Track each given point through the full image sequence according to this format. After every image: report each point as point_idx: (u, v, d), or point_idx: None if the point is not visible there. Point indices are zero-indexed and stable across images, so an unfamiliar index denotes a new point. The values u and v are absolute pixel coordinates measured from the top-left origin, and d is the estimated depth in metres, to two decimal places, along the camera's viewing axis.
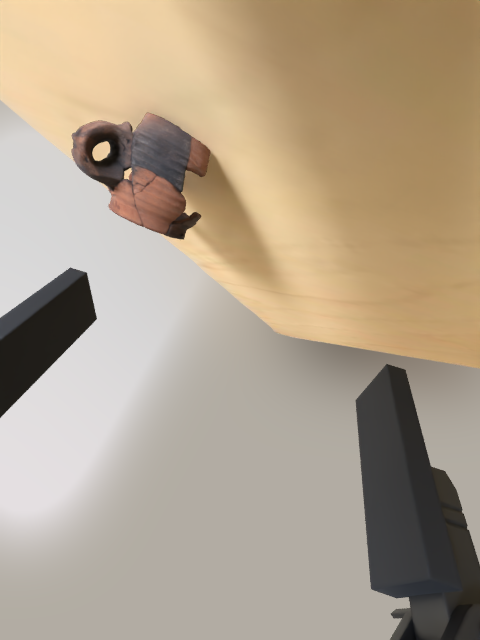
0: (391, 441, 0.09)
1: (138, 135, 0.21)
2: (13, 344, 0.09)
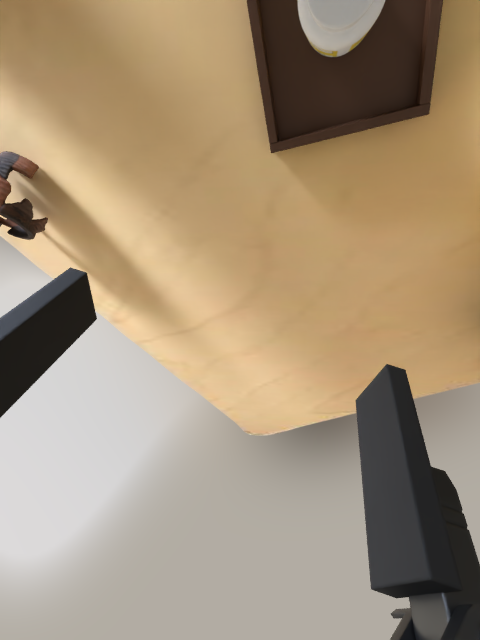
0: (391, 441, 0.09)
1: None
2: (13, 344, 0.09)
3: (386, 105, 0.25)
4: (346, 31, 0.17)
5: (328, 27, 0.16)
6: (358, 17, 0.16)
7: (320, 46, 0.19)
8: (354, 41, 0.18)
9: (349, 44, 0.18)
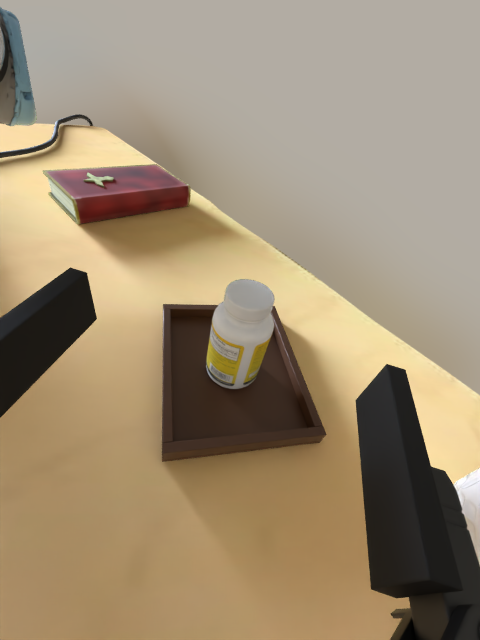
0: (391, 441, 0.09)
1: None
2: (13, 344, 0.09)
3: (284, 430, 0.25)
4: (252, 329, 0.23)
5: (243, 308, 0.21)
6: (264, 309, 0.21)
7: (232, 337, 0.22)
8: (258, 340, 0.23)
9: (254, 340, 0.23)
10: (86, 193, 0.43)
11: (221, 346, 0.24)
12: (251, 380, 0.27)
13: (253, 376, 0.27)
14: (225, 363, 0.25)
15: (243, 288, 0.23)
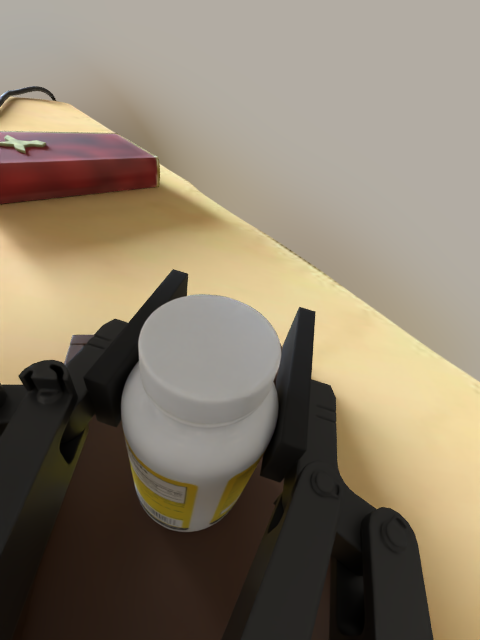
0: (288, 362, 0.11)
1: None
2: None
3: None
4: (218, 440, 0.08)
5: (184, 395, 0.06)
6: (250, 392, 0.07)
7: (160, 464, 0.08)
8: (235, 467, 0.08)
9: (225, 470, 0.08)
10: None
11: (141, 471, 0.09)
12: (228, 510, 0.12)
13: (232, 505, 0.12)
14: (158, 501, 0.10)
15: (195, 321, 0.08)
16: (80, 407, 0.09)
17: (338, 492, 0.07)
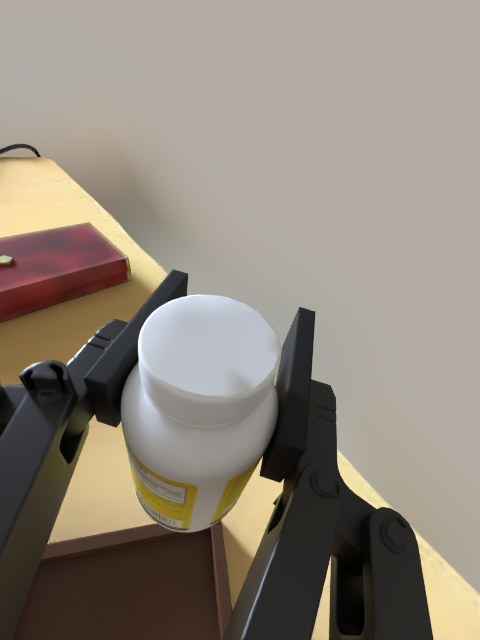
0: (288, 362, 0.11)
1: None
2: None
3: None
4: (218, 441, 0.08)
5: (183, 396, 0.06)
6: (250, 392, 0.07)
7: (160, 465, 0.08)
8: (235, 467, 0.08)
9: (225, 471, 0.08)
10: None
11: (141, 472, 0.09)
12: (228, 511, 0.12)
13: (232, 506, 0.12)
14: (158, 502, 0.10)
15: (194, 321, 0.08)
16: (80, 407, 0.09)
17: (338, 492, 0.07)
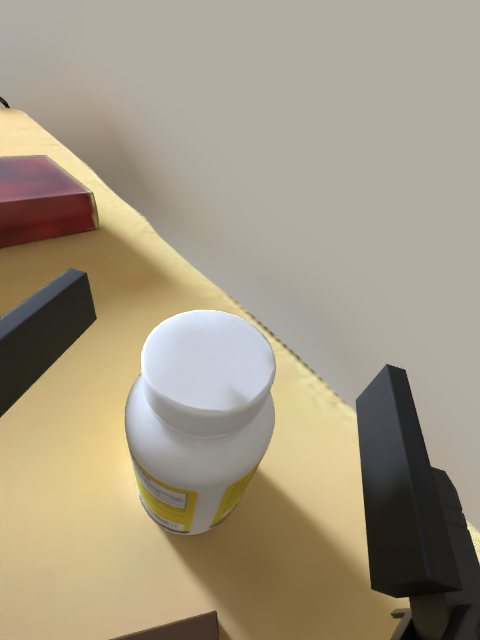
0: (391, 441, 0.09)
1: None
2: (13, 344, 0.09)
3: None
4: (217, 450, 0.08)
5: (183, 410, 0.07)
6: (246, 406, 0.07)
7: (162, 473, 0.08)
8: (233, 475, 0.09)
9: (223, 478, 0.08)
10: None
11: (144, 478, 0.09)
12: (228, 514, 0.13)
13: (231, 509, 0.13)
14: (160, 506, 0.10)
15: (194, 337, 0.09)
16: None
17: None
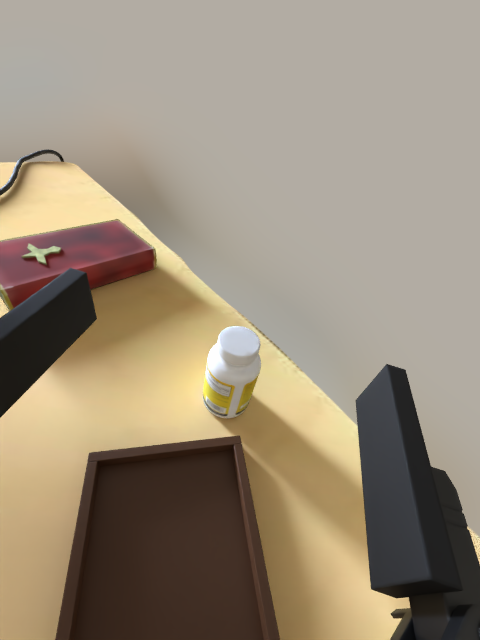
0: (391, 441, 0.09)
1: None
2: (13, 344, 0.09)
3: None
4: (241, 371, 0.26)
5: (233, 355, 0.25)
6: (251, 355, 0.25)
7: (224, 378, 0.26)
8: (246, 380, 0.26)
9: (243, 380, 0.26)
10: (22, 277, 0.36)
11: (215, 384, 0.27)
12: (242, 410, 0.31)
13: (244, 407, 0.30)
14: (219, 398, 0.28)
15: (233, 335, 0.27)
16: None
17: None
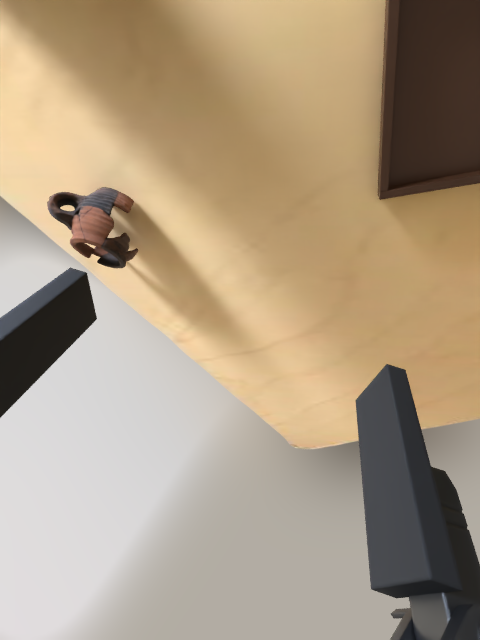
0: (391, 441, 0.09)
1: (88, 196, 0.37)
2: (13, 344, 0.09)
3: None
4: None
5: None
6: None
7: None
8: None
9: None
10: None
11: None
12: None
13: None
14: None
15: None
16: None
17: None
